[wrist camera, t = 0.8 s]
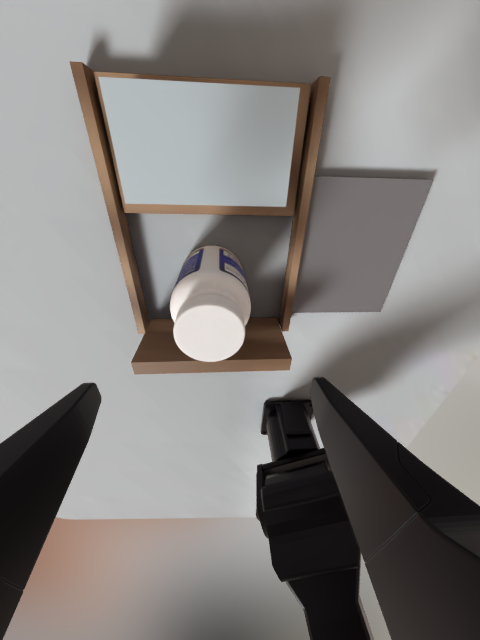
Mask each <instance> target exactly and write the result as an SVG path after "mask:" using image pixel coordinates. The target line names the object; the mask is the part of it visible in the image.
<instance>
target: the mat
mask: <svg viewBox="0 0 480 640" xmlns="http://www.w3.org/2000/svg"><path fill="white" fill-rule="evenodd" d="M432 182H433V180H427V179H393V178H359V177H325V176H314V180H313V186H312V192H311V198H310V204H309V210H308V216H307V222H306V228H305V234H304V240H303V246H302V252H301V258H300V264H299V270H298V276H297V282H296V288H295V294H294V300H293V306H292V312H291V313H305V312H381V309H382V307H383V304H384V302H385V299H386V297H387V294H388V292H389V289H390V287H391V284H392V282H393V279H394V277H395V274H396V272H397V269H398V267H399V264H400V262H401V259H402V257H403V254H404V252H405V249H406V247H407V244H408V242H409V239H410V237H411V234H412V232H413V229H414V227H415V224H416V222H417V219H418V217H419V214H420V212H421V209H422V207H423V205H424V202H425V200H426V197H427V195H428V192H429V190H430V187H431V185H432Z"/></svg>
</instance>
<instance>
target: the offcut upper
mask: <svg viewBox="0 0 480 640" xmlns="http://www.w3.org/2000/svg"><path fill="white" fill-rule="evenodd" d="M98 78H99V82H100V87H101V92H102V96H103V101H104V106H105V111H106V115H107V120H108V125H109V129H110V134H111V139H112V143H113V148H114V153H115V157H116V162H117V167H118V172H119V176H120V181H121V186H122V190H123V195H124V200H125V204H169V205H218V206H268V207H286V203H287V194H288V186H289V177H290V169H291V161H292V152H293V144H294V135H295V127H296V118H297V110H298V102H299V93H300V88H294V87H275V86H257V85H239V84H221V83H203V82H185V81H167V80H149V79H130V78H112V77H98Z"/></svg>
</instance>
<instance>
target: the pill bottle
mask: <svg viewBox="0 0 480 640" xmlns="http://www.w3.org/2000/svg"><path fill="white" fill-rule="evenodd" d="M170 312H171V316H172V319H173V321H174V323H175V324H174V328H173V334H174V339H175V342H176V344H177V346H178V347H179V348H180V350H181V351H182V352H183V353H185V354H186V355H188V356H189V357H191V358H193V359H196V360H199V361H205V362H216V361H221V360H224V359H227V358H229V357H231V356H232V355H234V354H235V353H236V352H237V351H238V350H239V349H240V347H241V346H242V344H243V342H244V339H245V326H246V324H247V322H248V320H249V317H250V312H251V302H250V296H249V292H248V287H247V283H246V279H245V275H244V271H243V267H242V265H241V263H240V261H239V259H238V258H237V257H236V256H235V255H234V254H233V253H232V252H231V251H229V250H227V249H225V248H223V247H219V246H204V247H201V248H198V249H196V250H195V251H193V252H192V253H191V254H190V255H189V256H188V257H187V258H186V260H185V262H184V264H183V266H182V269H181V272H180V274H179V277H178V279H177V282H176V285H175V287H174V290H173V293H172V296H171V300H170Z"/></svg>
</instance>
